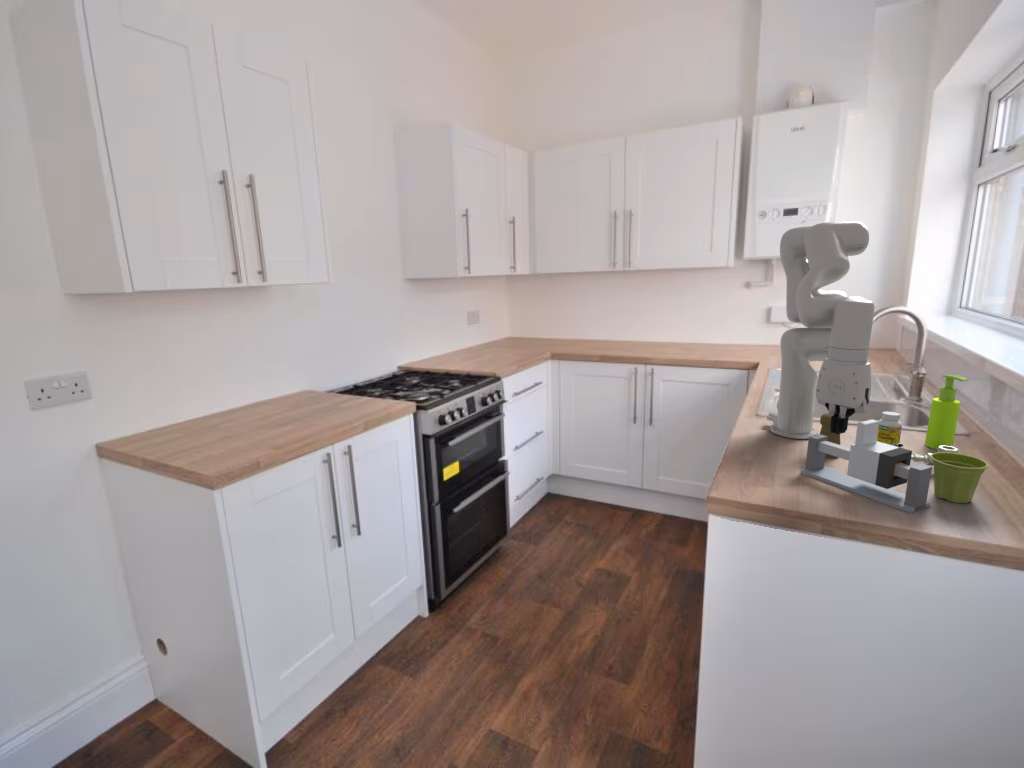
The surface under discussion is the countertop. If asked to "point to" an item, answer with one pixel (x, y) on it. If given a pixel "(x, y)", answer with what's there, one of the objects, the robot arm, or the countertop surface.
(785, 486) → the countertop surface
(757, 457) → the countertop surface
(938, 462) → the plant pot
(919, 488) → the rail stand
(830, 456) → the cork
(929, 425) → the soap dispenser
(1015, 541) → the countertop surface
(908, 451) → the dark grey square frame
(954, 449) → the valve
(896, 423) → the supplement bottle
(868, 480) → the sleeve
